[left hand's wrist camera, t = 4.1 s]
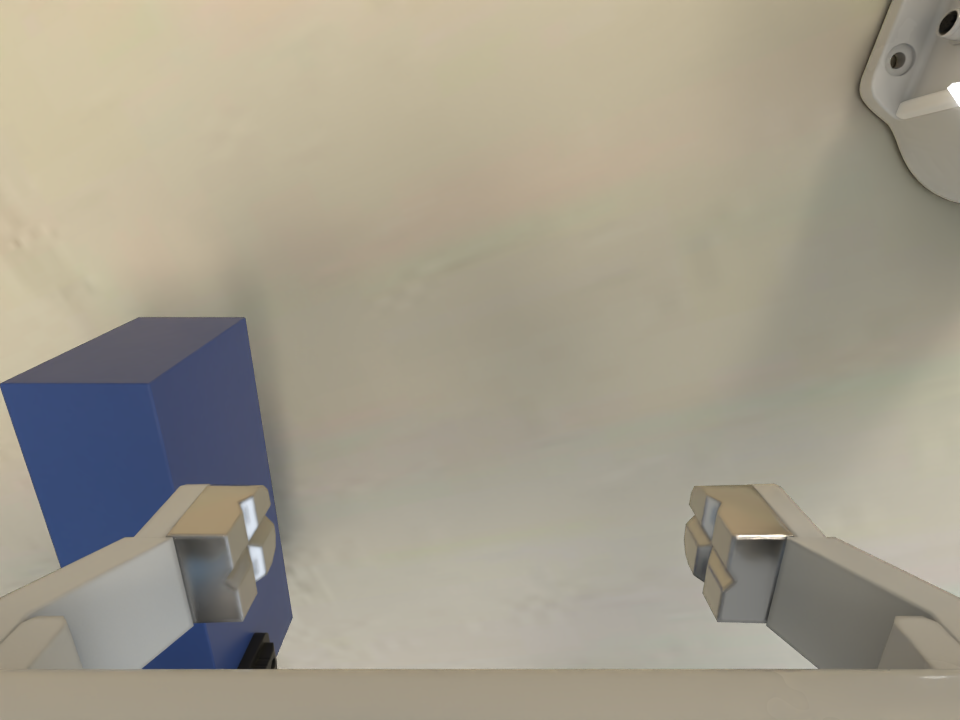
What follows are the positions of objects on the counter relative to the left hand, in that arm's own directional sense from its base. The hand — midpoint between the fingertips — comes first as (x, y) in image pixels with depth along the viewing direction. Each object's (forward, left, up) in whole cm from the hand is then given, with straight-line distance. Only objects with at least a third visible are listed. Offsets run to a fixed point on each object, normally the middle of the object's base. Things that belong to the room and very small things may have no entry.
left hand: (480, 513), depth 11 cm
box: (+13, -16, -20) cm, 29 cm away
